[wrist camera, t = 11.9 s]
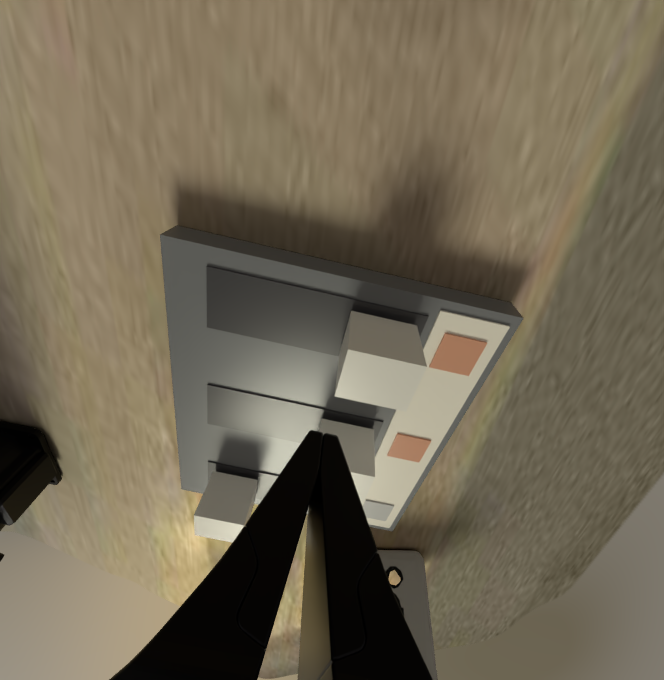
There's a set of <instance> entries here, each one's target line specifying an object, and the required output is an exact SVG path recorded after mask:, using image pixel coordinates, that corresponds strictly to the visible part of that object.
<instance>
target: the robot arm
mask: <svg viewBox="0 0 664 680" xmlns="http://www.w3.org/2000/svg"><path fill="white" fill-rule="evenodd" d="M61 479H62V477H61V475H60V473H59V470H58V468H57V466H56V463H55V461H54V459H53V456H52V454H51V451H50V449H49V447H48V444H47V442H46V440H45V437H44V435H43V433H42V432H41V431H39V430H38V429H35V428H30V427H25V426H20V425H15V424H10V423H5V422H1V421H0V531H1V529H2V528H3V527H4V526H5V525H11V524H13V523H15V522H16V521H17V519H18V518H19V517H20V516H21V515H22V514H23V513H24V511H25V510H26V509H27V508H28V507H29V506H30V505H31V503H32V502H33V501H34V500H35V499H36V498H37V497H38V496H39V494H40V493H41V492H42V491H43V490H44V489H45V488H46V486H47V485H48V484H53V485H57V484H58V483H59V482H60V481H61ZM308 507H309V508H308ZM307 511H308V520H307V536H306V553H305V569H304V585H303V601H302V617H301V634H300V650H299V666H298V680H433V679H432V676H431V674H430V672H429V670H428V668H427V666H426V663H425V661H424V659H423V657H422V655H421V653H420V650H419V648H418V646H417V644H416V642H415V640H414V638H413V635H412V633H411V631H410V629H409V627H408V625H407V622H406V620H405V618H404V616H403V613H402V611H401V609H400V607H399V604H398V602H397V600H396V597H395V595H394V593H393V590H392V588H391V585H390V582H389V580H388V577H387V574H386V572H385V569H384V566H383V563H382V561H381V558H380V555H379V553H377V551H378V550H377V547H376V544H375V541H374V538H373V535H372V532H371V529H370V527H369V524H368V521H367V518H366V515H365V512H364V509H363V506H362V504H361V501H360V498H359V495H358V492H357V489H356V486H355V484H354V481H353V478H352V475H351V472H350V469H349V466H348V463H347V461H346V458H345V455H344V452H343V449H342V446H341V443H340V441H339V438H338V436H337V435H334V434H329V433H324V435H323V433H322V432H319V431H315V430H310V431H309V432H308V433H307V435H306V436H305V438H304V439H303V441H302V442H301V444H300V445H299V447H298V448H297V450H296V451H295V453H294V454H293V455H292V457H291V458H290V460H289V461H288V463H287V464H286V466H285V467H284V469H283V470H282V472H281V473H280V474H279V476H278V477H277V479H276V480H275V482H274V483H273V485H272V486H271V488H270V489H269V491H268V492H267V494H266V495H265V496H264V498H263V499H262V501H261V502H260V504H259V505H258V507H257V508H256V510H255V511H254V513H253V514H252V515H251V517H250V518H249V520H248V521H247V523H246V525H245V527H243V528H242V530H241V531H240V533H239V534H238V536H237V537H236V539H235V540H234V541H233V543H232V544H231V546H230V547H229V548H228V550H227V551H226V552H225V554H224V555H223V556H222V558H221V559H220V560H219V562H218V563H217V564H216V565H215V567H214V568H213V569H212V570H211V571H210V573H209V574H208V575H207V576H206V578H205V579H204V580H203V581H202V582H201V584H200V585H199V586H198V587H197V588H196V589H195V590H194V592H193V593H192V594H191V595H190V596H189V597H188V599H187V600H186V601H185V602H184V603H183V604H182V606H181V607H180V608H179V609H178V610H177V611H176V612H175V614H174V615H173V616H172V617H171V618H170V620H169V621H168V622H167V623H166V624H165V625H164V626H163V628H162V629H161V630H160V631H159V632H158V633H157V634H156V635H155V636H154V638H153V639H152V640H151V641H150V642H149V643H148V644H147V645H146V646H145V647H144V648H143V649H142V650H141V651H140V652H139V654H137V655H136V656H135V657H134V658H133V659H132V660H131V661H130V662H129V663H128V664H127V665H126V666H125V667H124V668H122V669H121V670H120V671H119V672H118V673H117V674H115V675H114V676H113V677H112V678H111V679H110V680H257V678H258V675H259V672H260V668H261V665H262V662H263V658H264V655H265V651H266V648H267V645H268V641H269V638H270V635H271V631H272V628H273V625H274V621H275V618H276V615H277V611H278V608H279V605H280V601H281V598H282V595H283V591H284V588H285V584H286V581H287V578H288V574H289V571H290V568H291V564H292V561H293V558H294V554H295V551H296V548H297V544H298V541H299V538H300V534H301V531H302V528H303V524H304V521H305V517H306V514H307ZM3 557H4V554H2V553H0V561H1V560H2V558H3Z"/></svg>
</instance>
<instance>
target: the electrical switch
mask: <svg viewBox="0 0 664 680" xmlns="http://www.w3.org/2000/svg"><path fill="white" fill-rule="evenodd" d="M377 553H379V555H380V558H381V561H382V563H383V566H384V569H385V572H386V574H387V577H388V578H389V574H390V571H393V570H395V571H396V572H397V574H398V575H399V576H400V578H401V581H400V583H398V584H397V585H396V586H395V585H391V584H390V585H391V588H392V590H393V593H394V595H395V597H396V600H397V602H398V604H399V607H400V609H401V611H402V613H403V616H404V618H405V620H406V622H407V625H408V627H409V629H410V631H411V633H412V635H413V638H414V640H415V642H416V644H417V646H418V648H419V650H420V653H421V655H422V657H423V659H424V661H425V663H426V666H427V668H428V670H429V672H430V674H431V676H432V679H433V680H438V679H437V670H436V664H435V654H434V645H433V636H432V627H431V619H430V610H429V601H428V592H427V584H426V573H425V565H424V559H423V557H422V556H421V554H420V553H419V552H417V551H404V550H378V551H377Z"/></svg>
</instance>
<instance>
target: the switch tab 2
mask: <svg viewBox="0 0 664 680" xmlns="http://www.w3.org/2000/svg"><path fill="white" fill-rule="evenodd" d="M319 432H322V433H323V435H324V433H329V434H334V435H337V436H338V438H339V441H340V443H341V446H342V449H343V452H344V455H345V458H346V461H347V463H348V466H349V469H350V472H351V475H352V478H353V481H354V484H355V486H356V489H357V492H358V495H359V498H360V501H361V503H362V504H363V502H364V500H365V498H366V496H367V494H368V491H369V489H370V487H371V485H372V483H373V481H374V479H375V447H374V429H369V428H364V427H360V426H355V425H350V424H346V423H341V422H336V421H331V420H327V419H322V420H321V423H320V427H319Z"/></svg>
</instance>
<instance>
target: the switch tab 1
mask: <svg viewBox="0 0 664 680" xmlns="http://www.w3.org/2000/svg"><path fill="white" fill-rule="evenodd" d="M257 482H258V480H255V479H250V478H245V477H240V476H235V475H231V474H226V473H221V472H216V471H213V473H212V475H211V478H210V480H209V482H208V484H207V487H206V489H205V491H204V494H203V496H202V498H201V500H200V503H199V505H198V507H197V510H196V512H195V514H194V527H195V535H197V536H202V537H207V538H212V539H217V540H222V541H227V542H233V541H234V540H235V539H236V537H237V536H238V534H239V533H240V531H241V530H242V528H243V527H245V525H246V523H247V521H248V520H249V518H250V515H251V512H252V508H253V505H254V502H255V496H256V489H257Z"/></svg>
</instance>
